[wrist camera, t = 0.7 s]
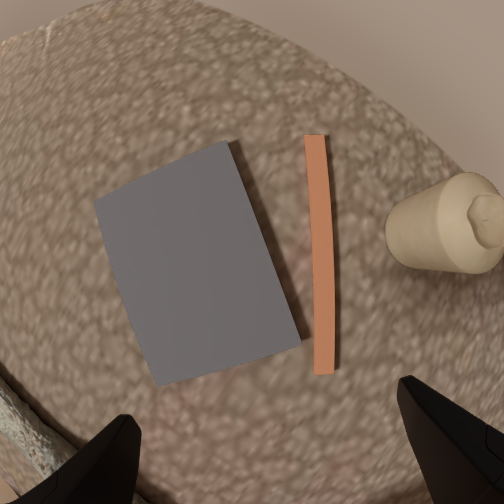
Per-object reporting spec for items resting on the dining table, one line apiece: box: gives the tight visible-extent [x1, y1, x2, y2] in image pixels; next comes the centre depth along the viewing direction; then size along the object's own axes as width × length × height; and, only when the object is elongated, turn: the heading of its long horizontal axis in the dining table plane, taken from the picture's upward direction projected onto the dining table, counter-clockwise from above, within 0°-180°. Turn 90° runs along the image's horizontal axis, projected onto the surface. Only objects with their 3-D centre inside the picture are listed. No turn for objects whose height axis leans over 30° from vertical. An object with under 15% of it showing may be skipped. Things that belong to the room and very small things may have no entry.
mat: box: [94, 140, 302, 386], centre depth 23 cm, size 16×12×1 cm
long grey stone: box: [0, 375, 150, 504], centre depth 23 cm, size 35×5×10 cm
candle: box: [385, 172, 504, 274], centre depth 16 cm, size 6×6×10 cm
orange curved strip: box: [304, 135, 335, 375], centre depth 22 cm, size 18×2×1 cm, turn 2°
